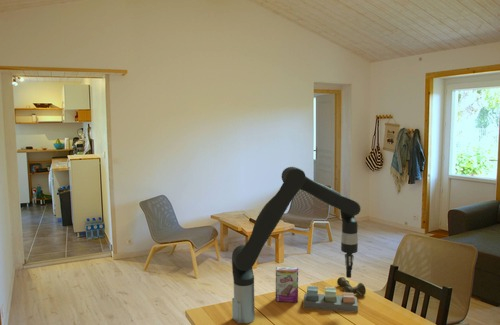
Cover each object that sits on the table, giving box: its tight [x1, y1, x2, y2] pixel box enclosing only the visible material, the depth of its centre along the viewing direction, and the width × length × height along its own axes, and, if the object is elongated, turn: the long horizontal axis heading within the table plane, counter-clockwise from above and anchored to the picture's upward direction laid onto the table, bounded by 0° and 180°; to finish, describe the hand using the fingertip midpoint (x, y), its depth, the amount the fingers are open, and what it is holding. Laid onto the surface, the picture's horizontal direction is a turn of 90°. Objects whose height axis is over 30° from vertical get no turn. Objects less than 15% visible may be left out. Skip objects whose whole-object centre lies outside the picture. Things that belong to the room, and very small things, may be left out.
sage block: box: [324, 286, 337, 302], centre depth 193 cm, size 5×5×5 cm
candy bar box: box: [275, 266, 299, 303], centre depth 199 cm, size 11×5×16 cm, turn 84°
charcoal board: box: [303, 292, 359, 313], centre depth 193 cm, size 10×25×3 cm, turn 79°
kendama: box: [336, 276, 367, 296], centre depth 207 cm, size 6×10×20 cm
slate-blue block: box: [306, 285, 319, 301], centre depth 195 cm, size 5×5×5 cm
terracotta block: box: [342, 291, 355, 304], centre depth 192 cm, size 5×5×5 cm
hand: (348, 277), depth 190 cm, fingers closed
